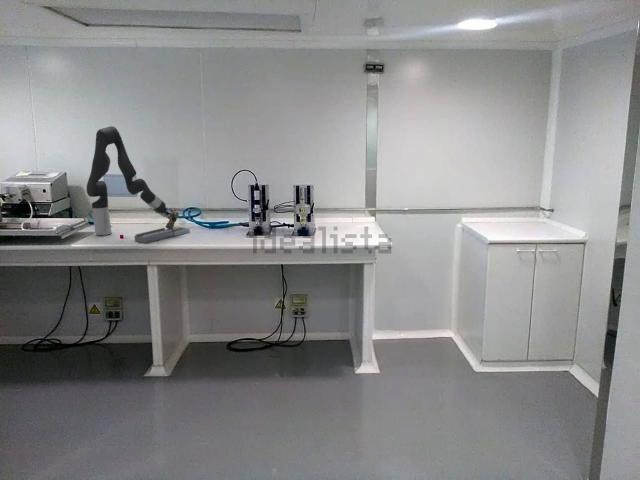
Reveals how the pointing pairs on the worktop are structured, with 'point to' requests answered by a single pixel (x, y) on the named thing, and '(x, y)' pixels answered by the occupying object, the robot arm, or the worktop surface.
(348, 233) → the worktop surface
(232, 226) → the worktop surface
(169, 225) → the scraper
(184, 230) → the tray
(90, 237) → the worktop surface
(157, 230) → the slotted plate
